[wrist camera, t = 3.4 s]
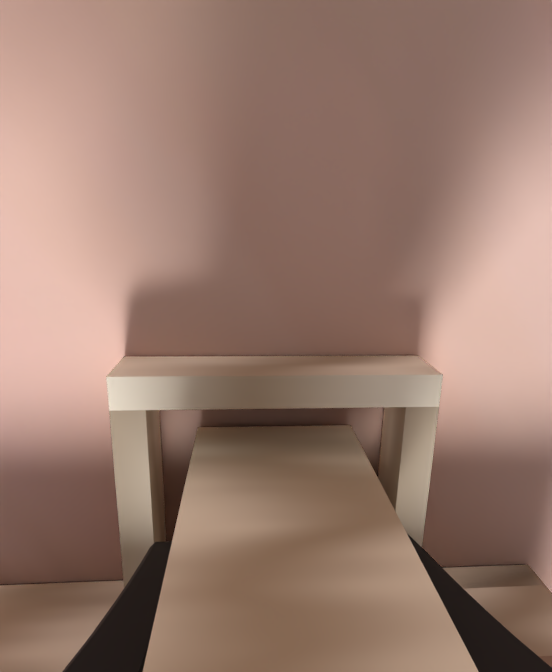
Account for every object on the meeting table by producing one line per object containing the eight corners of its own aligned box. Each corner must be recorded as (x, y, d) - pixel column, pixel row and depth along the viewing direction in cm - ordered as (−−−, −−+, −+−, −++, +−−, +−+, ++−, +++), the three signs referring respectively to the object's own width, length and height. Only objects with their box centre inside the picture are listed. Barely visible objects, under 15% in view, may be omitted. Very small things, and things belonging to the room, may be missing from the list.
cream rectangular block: (350, 425, 12) (559, 827, 4) (341, 552, 13) (495, 1073, 5) (198, 427, 11) (97, 865, 4) (201, 557, 12) (129, 1119, 5)
